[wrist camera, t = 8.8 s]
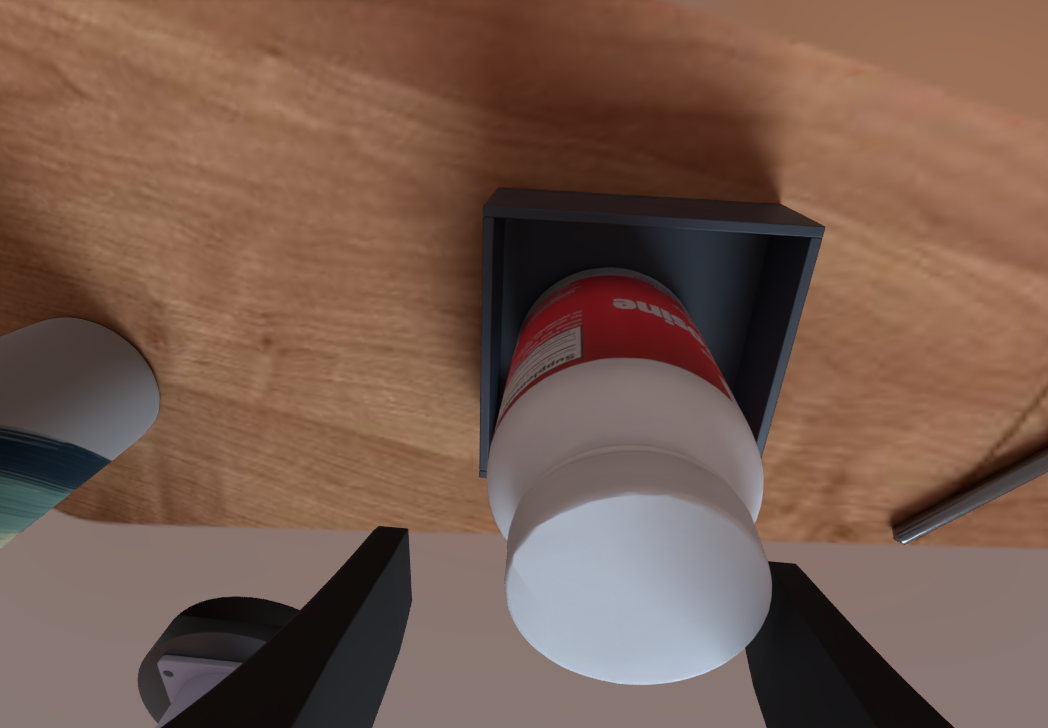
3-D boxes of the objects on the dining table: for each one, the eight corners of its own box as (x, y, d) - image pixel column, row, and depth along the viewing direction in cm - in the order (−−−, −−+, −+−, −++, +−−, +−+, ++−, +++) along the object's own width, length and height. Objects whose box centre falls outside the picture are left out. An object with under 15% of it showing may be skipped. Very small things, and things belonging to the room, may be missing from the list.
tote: (724, 443, 22) (750, 501, 18) (492, 425, 22) (479, 477, 19) (782, 203, 18) (826, 226, 15) (498, 187, 18) (482, 205, 15)
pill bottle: (729, 359, 20) (890, 629, 10) (591, 450, 22) (606, 750, 12) (620, 222, 18) (679, 380, 8) (481, 335, 20) (390, 573, 10)
